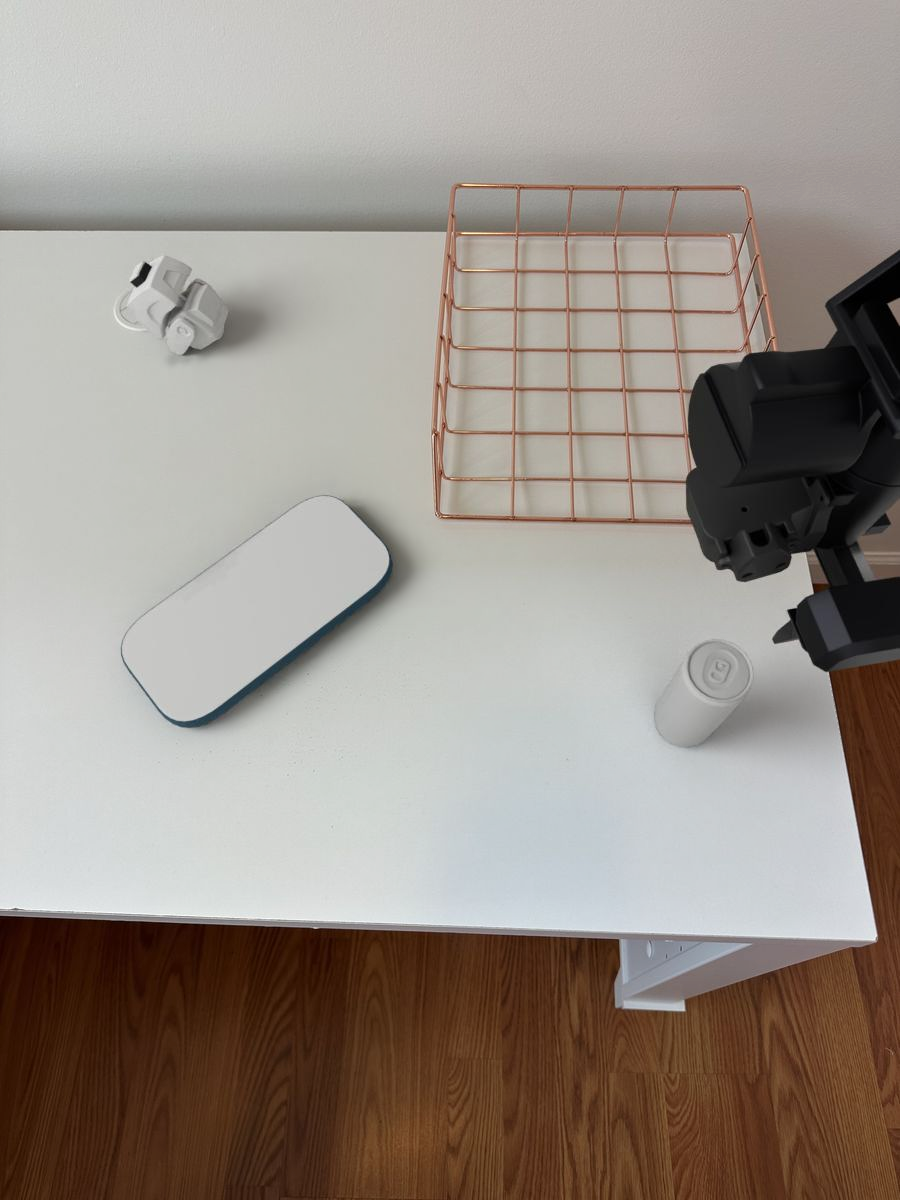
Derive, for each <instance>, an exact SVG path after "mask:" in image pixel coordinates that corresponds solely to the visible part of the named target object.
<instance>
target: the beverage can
mask: <svg viewBox="0 0 900 1200" xmlns="http://www.w3.org/2000/svg"><path fill="white" fill-rule="evenodd" d="M753 682H754V667H753V664H752V661H751V659H750V657H749V656H748V654H747V653H746V652H745V651H744V650H743V649H742V648H741V647H740V646H738V645H737V644H735V643H734V642H731V641H728V640H726V639H719V638H712V639H711V638H710V639H706V640H703V641H701V642H699V643H697V644H696V645H695V646H693V647H692V648H690V650H689V651H688V652H687V653H686V655H685V656H684V658H683V659H682V660H681V662H680V664H679V666H678V667H677V668H676V671H675V672H674V674H673V675H672V677H671V679H670V680H669V682H668V684H667V685H666V687H665V689H664V690H663V692H662V693H661V695H660V697H658V700H657V701H656V703H655V705H654V710H653V721H654V725H655V726H654V727H655V729H656V731H657V732H658V735H659V736H660V737H661V738H662V739H663V740H664V741H665V742H667V743H668V744H669V745H673V746H675V747H678V748H691V747H695V746H697V745H700V744H702V743H703V742H704V741H705V740H706V739H708V738H709V737H710V735H711V734H712V733H714V731H715V730H716V729H717V728H718V727H719V726H720V725H721V724H722V723H723V722H724V721H725V720H726V719H727V718H728V717H729V716H730V714H731V713H732V712H733V711H734V710H735V709H736V708H737V707H738V706H739V705H740V703H742V701H743V700H744V699H745V698H746V697H747V696H748V693H749V692H750V690H751V687H752V685H753Z"/></svg>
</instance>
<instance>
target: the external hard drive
mask: <svg viewBox="0 0 900 1200" xmlns="http://www.w3.org/2000/svg"><path fill="white" fill-rule="evenodd" d="M393 564H394V562H393V557H392V554H391V551H390V550H389V548H388V546H387V545H386V544H385V543H384V541H383V540H382V539H381V537H379V535H377V533H375V531H374V530H373V529H372V528H371V527H370V526H369V525H368V524H367V523H366V522H365V521H364V520H363V518H361V517H360V516H359V514H358V513H356V512H355V511H354V510H353V509H352V508H351V507H350V506H349V505H348V504H347V503H346V502H345V501H344V500H342V499H340V498H338V497H336V496H333V495H326V494H325V495H324V494H323V495H322V494H321V495H316V496H312V497H309V498H307V499H304V500H303V501H301V502H299V503H297V504H296V505H294V506H292V507H291V508H289V509H288V510H287V511H286V512H284V513H283V514H281V515H280V516H279V517H276V519H274V520H273V521H271V522H270V523H269V524H267V525H266V526H265V527H263V528H262V529H261V530H259V531H258V532H256V533H255V534H253V535H252V536H251V537H249V538H248V539H246V540H245V541H244V542H242V543H241V544H239V545H238V546H236V547H235V548H234V549H232V550H231V551H230V552H228V553H227V554H226V555H224V556H223V557H222V558H220V559H218V560H217V561H216V562H214V563H213V564H211V565H210V566H209V567H208V568H205V570H203V571H202V572H200V573H199V574H197V575H196V576H195V577H194V578H192V579H190V580H189V581H187V582H186V583H185V584H184V585H182V586H181V587H179V588H178V589H177V590H175V591H174V592H172V593H171V594H170V595H168V596H167V597H166V598H164V599H162V601H160V602H159V603H157V604H156V605H155V606H153V607H152V608H150V609H149V610H147V611H146V612H145V613H143V615H141V616H140V617H138V618H137V620H135V622H134V623H132V624H131V626H130V627H128V629H127V631H125V634H124V636H123V638H122V640H121V644H120V656H121V660H122V662H123V665H124V666H125V668H126V669H127V671H128V672H129V674H130V676H132V678H133V679H134V681H135V682H136V683H137V684H138V686H139V688H141V690H142V691H143V693H144V694H145V695H146V697H147V698H148V699H149V701H150V702H151V703H152V705H153V706H154V707H155V709H156V710H157V711H158V713H159V714H161V716H162V717H163V718H164V719H165V720H166V721H167V722H169V723H171V724H172V725H173V726H177V727H180V728H184V729H193V728H199V727H202V726H204V725H208V724H210V723H212V722H214V721H215V720H217V719H218V718H220V717H222V716H223V715H224V714H225V713H227V712H228V711H229V710H231V709H233V707H235V706H236V705H238V704H239V703H240V702H241V701H242V700H244V699H245V698H246V697H248V696H249V695H250V694H251V693H253V692H254V691H255V690H257V689H258V688H260V686H262V685H263V684H264V683H266V682H267V681H269V679H271V678H272V677H273V676H275V675H276V674H277V673H279V672H280V671H281V670H282V669H284V668H285V667H286V666H288V665H289V664H290V663H292V662H293V661H294V660H296V659H297V658H298V657H299V656H300V655H302V654H303V653H304V652H305V651H307V650H308V649H309V648H311V647H312V646H313V645H315V644H316V643H317V642H318V641H320V640H322V638H324V637H325V636H326V635H328V634H329V633H330V632H332V631H333V630H335V628H337V627H338V626H340V624H342V623H343V622H344V621H345V620H347V619H348V618H350V617H351V616H352V615H353V614H355V613H356V612H358V611H359V610H360V609H361V608H362V607H364V606H365V605H366V604H368V603H369V602H370V601H371V600H372V599H373V598H375V597H376V596H378V595H379V593H380V592H381V591H382V590H384V588H385V587H386V585H387V584H388V582H389V581H390V580H391V576H392V573H393V566H394V565H393Z"/></svg>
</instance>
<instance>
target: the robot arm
mask: <svg viewBox="0 0 900 1200" xmlns="http://www.w3.org/2000/svg"><path fill="white" fill-rule="evenodd" d="M899 299H900V249H898V250H897V251H895V252H894V253H892V254H891V255H889V256H888V257H887V258H886V259H884V260H883V261H881V262H879V264H877V265H876V266H874V267H873V268H871V269H869V270H868V271H867V272H865V273H864V274H863V275H861V276H860V277H859V278H857V279H856V280H855V281H853V282H852V283H850V284H849V285H847V286H846V287H845V288H843V289H842V290H840V291H839V292H837V293H836V294H834V295H833V296H832V297H831V298H830V297H829V299H828V300H827V301H826V302H825V304H824V307H825V309H826V311H827V313H828V315H829V317H830V319H831V321H832V323H833V325H834V327H835V328H836V331H835V333H834V334H833V336H831V338H830V340H829V342H828V343H827V344H826V345H825V346H824V347H822V348H814V349H805V350H794V351H781V350H766V351H757V352H750V353H747V354H746V355H744V356H743V358H742V360H741V361H735V362H724V363H718V364H717V363H716V364H715V365H712V366H710V367H708V369H706V370H705V372H701V373H699V375H698V377H697V378H696V380H695V382H694V385H693V387H692V389H691V392H690V398H689V402H688V411H687V434H688V442H689V447H690V448H689V449H690V451H691V455H692V459H693V462H694V465H695V467H694V468H692V469H691V470H690V471H689V472H688V474H687V476H686V478H685V509H686V513H687V516H688V518H689V519H690V522H691V524H692V528H693V530H694V534H695V535H696V538H697V541H698V543H699V547H700V550H701V552H702V553H701V554H702V555H703V557H705V559H707V560H708V561H709V562H711V563H714V566H715V569H716V571H725V570H730V571H732V573H733V575H734V578H735V581H737V582H738V583H739V582H740V583H748V582H751V581H756V580H759V579H761V578H766V577H769V576H772V575H776V574H780V573H782V572H784V571H785V570H787V569H788V568H789V567H790V565H791V564H792V563H791V562H792V558H793V556H792V555H795V554H803V553H808V552H811V551H813V552H814V554H815V556H816V559H817V561H818V564H819V565H820V568H821V570H822V572H823V574H824V577H825V579H826V581H827V584H828V587H826V588H824V589H821V590H819V591H817V592H814V593H812V594H810V595H807V596H805V597H804V598H803V599H802V600H801V601H800V602H799V603H798V604H797V605H796V607H794V608H788V609H786V612H787V615H788V617H789V620H788V621H787V622H786V623H785V624H783V625H782V626H781V627H780V628H779V629H777V630H776V632H775V633H774V634H773V637H772V638H771V640H772V642H773V644H774V645H777V644H785V643H789V642H794V641H799V644H800V646H801V648H802V650H803V651H804V652H805V653H807V654H808V656H809V659H810V661H811V663H812V665H813V667H816V668H817V669H819V670H821V671H823V672H825V673H831V672H835V671H840V670H846V669H853V668H858V667H864V666H870V665H875V664H881V663H887V662H892V661H899V660H900V576H893V577H886V578H879V579H876V576H875V574H874V572H873V570H872V568H871V566H870V564H869V561H868V559H867V556H866V555H865V553H864V551H863V549H862V546H861V544H860V542H859V539H860V538H861V537H865V536H872V535H879V534H883V533H884V532H885V531H886V530H887V529H889V527H890V526H891V525H892V523H891V520H890V518H889V515H888V514H887V512H888V511H889V510H890V509H891V508H892V507H893V506H894V505H895V504H896V503H897V502H898V501H899V500H900V324H899V321H898V320H897V318H896V315H894V313H893V311H892V309H891V307H890V306H889V304H890V303H892V302H894V301H897V300H899Z"/></svg>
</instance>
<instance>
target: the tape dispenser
mask: <svg viewBox="0 0 900 1200" xmlns="http://www.w3.org/2000/svg"><path fill="white" fill-rule="evenodd" d="M192 271H193V269H192V267H191V266H189V265H188V264H187V263H184V262H183V261H181V260H178V259H176V258H174V257H171V256H169V255H167V254H166V255H165V254H164V255H161V256H158V257H156V258H154V259H152V261H150V262H149V263H148V262H146V261H145V260H142V261H141V262H140V263H138V264H136V265H135V267H134V269H133V271H132V273H131V275H130V278H129V280H128V282H129V283H130V284H132V285H133V286H134V287H133V289H132V292H131V294H130V296H129V299H128V301H127V304H126V308H127V310H129V312H130V313H131V314H132V315H133V317H134V318H135V320H136V321H138V323H139V324H140V325H141V326H142V327H143V328H144V329H145V330H146V331H148V332H149V333H150V334H151V335H152V336H154V337H155V338H156V339H158V340H161V341H163V340H164V338H165V336H166V344H167V346H168V348H169V350H170V352H171V353H173V354H176V355H178V356H183V355H184V354H185V353H186V351H188V349H189V348H190V347H191V348H193V349H196V350H204V349H205V348H207V347H208V346H210V345H211V344H213V343H214V342H215V341H218V340H220V339H221V338H222V337H223V335H224V333H225V325H226V324H225V323H226V320H227V318H228V316H229V313H230V312H229V309H228V307H227V305H226V304H225V303H224V302H223V300H222V298H221V296H220V295H219V294H218V293H217V292H216V290H215V289H214V288H213V287H212V285H210V284H209V283H208V282H206V281H205V280H203V279H200V278H195V279H193V280H192V281H191V282H190V283H189V284H188V286H187V287H186V289H185V290H184V291H183V289H184V287H185V284H186V282H187V280H188V277H190V275H191V273H192ZM182 291H183V292H182ZM167 328H168V330H167V331H166V329H167Z"/></svg>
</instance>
